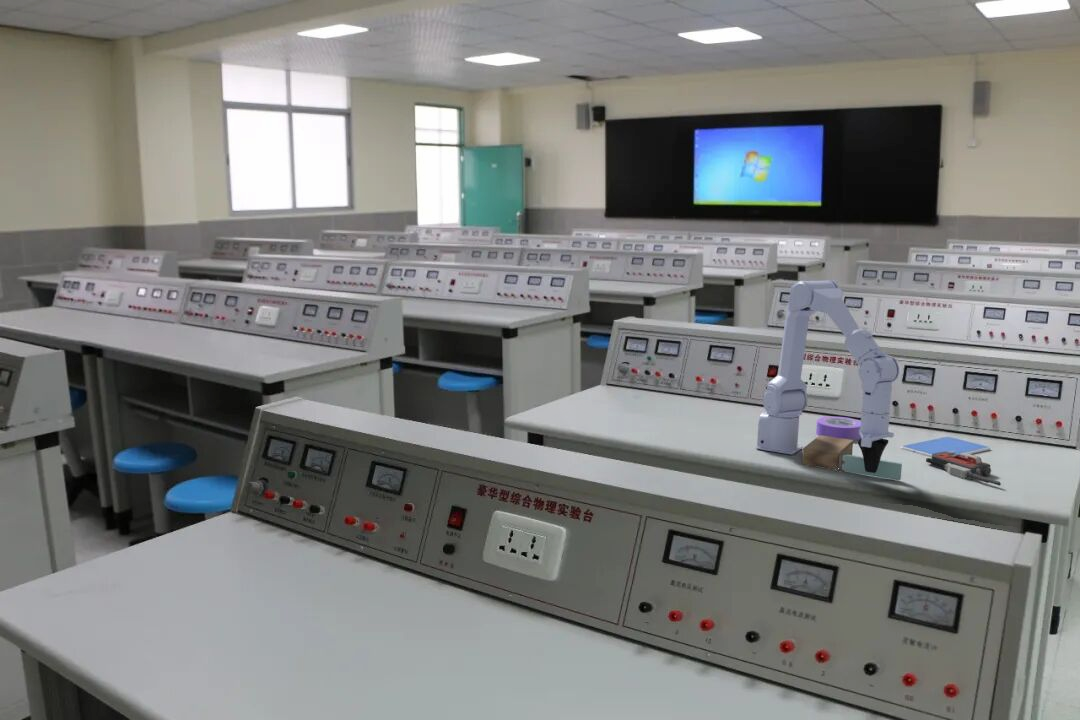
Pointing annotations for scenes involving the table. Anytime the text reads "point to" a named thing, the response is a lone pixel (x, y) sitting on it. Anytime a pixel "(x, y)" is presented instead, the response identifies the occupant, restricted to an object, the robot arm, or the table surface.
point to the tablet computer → (945, 446)
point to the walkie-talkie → (962, 465)
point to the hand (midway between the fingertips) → (870, 471)
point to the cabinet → (827, 452)
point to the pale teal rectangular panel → (884, 469)
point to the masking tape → (839, 427)
